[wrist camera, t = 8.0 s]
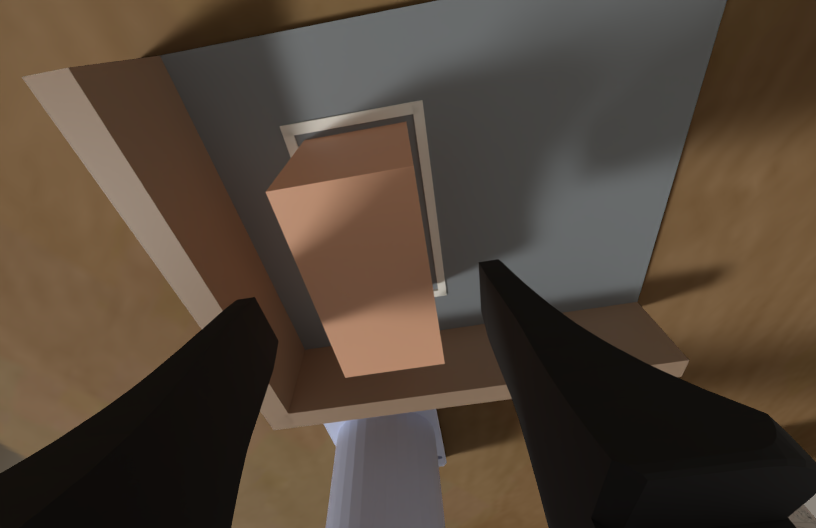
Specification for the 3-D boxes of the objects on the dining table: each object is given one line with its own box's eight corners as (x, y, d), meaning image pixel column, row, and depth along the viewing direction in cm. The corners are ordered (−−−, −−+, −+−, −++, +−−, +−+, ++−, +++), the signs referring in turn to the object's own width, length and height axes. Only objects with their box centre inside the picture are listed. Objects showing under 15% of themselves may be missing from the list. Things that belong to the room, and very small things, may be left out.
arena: (627, 311, 20) (681, 376, 16) (294, 359, 21) (273, 430, 17) (731, -58, 11) (907, -101, 7) (135, 60, 12) (21, 76, 8)
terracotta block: (304, 140, 13) (265, 191, 9) (406, 121, 13) (413, 165, 9) (355, 296, 18) (345, 377, 14) (432, 284, 18) (444, 363, 13)
